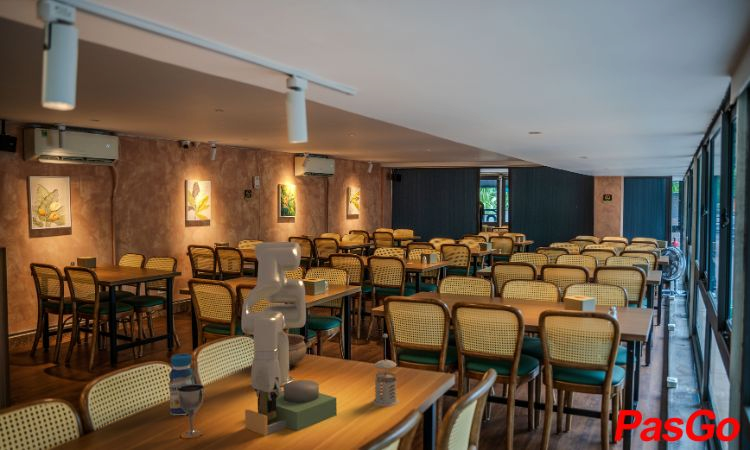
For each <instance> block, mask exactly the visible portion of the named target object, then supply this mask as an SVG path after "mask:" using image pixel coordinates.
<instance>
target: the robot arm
mask: <svg viewBox="0 0 750 450" xmlns="http://www.w3.org/2000/svg"><path fill="white" fill-rule="evenodd" d="M254 255H255V257H256V259H257V263H258V265H257V266H258V267H257V281H256V282H257V283H256V286H255V287H253V288H252V290H250V291H249V292H248V294H247V295H246V297H245V298H244V300H243V303H242V311H241V330H242V332H243V333H244V334H247V335H253V354H254V357H253V359H252V362H251V370H250V371H251V373H250V374H251V375H250V384H251V387H252V388H253V389H254V390H255V393H256V397H257V410H258V409H259V401H260V393H259V390H262V391H264V392H268V399H269V400H268V401H267V410H268V413H271V411H276V399H277V397H278V396H279V395H280V394H281V393H282V391H283V390H282V388H281V387H284V385H285V384H286V383H289V382H292V381H294V378H293V376H291V375H290V367H289V340H288V337H287V335H286V334H287V333H286V332H285V331H284V330H283V329H298V328H303V327H304V326H305V324H306V321H307V308H306V307H307V306H306V305H307V304H306V287H305V283H304V281H303V280H302V279H300V278H299V279H298V278H287V277H286V271H297V270H298V269H299V267H300V265H301V258H302V250H301V246H300V244H299V243H298V242H296V241H270V242H269V241H268V242H267V241H265V242H259V243H257V244H256V245H255V246H254ZM264 299H265V300H266V301H267V302H268V303H271V304H270V305H266V306H265V307H263V309H262V311H252V310H253V307H254V306H255V305H256V304H257V303H258V302H260V301H263V300H264ZM271 392H273V394H271Z"/></svg>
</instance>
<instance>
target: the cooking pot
mask: <svg viewBox="0 0 750 450" xmlns="http://www.w3.org/2000/svg"><path fill="white" fill-rule="evenodd" d="M285 334H286V335H287V337H288V340H289V368H291V367H293V366H295V365H297V364H298V363H299V362H301V361H302V360H303V359H304V358H305V357H306V353H307V349H308V348H310V347H311V346H312V343H311V342H306V343H305V341H304V340H305V336H303V335H300V334H296V333H295V334H293V333H285Z"/></svg>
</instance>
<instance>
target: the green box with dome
mask: <svg viewBox="0 0 750 450" xmlns="http://www.w3.org/2000/svg"><path fill="white" fill-rule="evenodd" d="M319 385H320V384H319V383H318V382H317V381H313V380H308V379H307V380H305V379H303V380H301V379H300V380H293V381H292V382H289V383H286V384H285V385H284V386H283V390H282V393H281V394H280V395H279V396H278V397H277V399H276V417H275V418H273V419H270V420H267V416H266V415H263V414H260V413H258V410H259V409H258V408H257V411H253V410H251V409H249V408H247V409H245V411H244V413H245V414H244V415H245V417H244V419H245V422H244V423H245V429H247V430H248V431H249V430H250V431H253V432H255V433H257V434H260V435H262V436H264V437H266V436H268V435H270V434H273V433H276V432H278V431H281V430H283V429H285V428H287V429H288V428H289V429H291V430H294V431H297V432H299V431H301V430H304V429H305V428H309V427H311V426H313V425H315V424H318V423H320V422H322V421H325V420H327V419H331V418H333V417H335V416H337V414H338V413H337V411H338V410H337V397H335V396H332V395H329V394H325V393H322V392H319V391H320V389H319V387H320V386H319ZM268 422H272V423H270V424H269V425H268Z"/></svg>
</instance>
